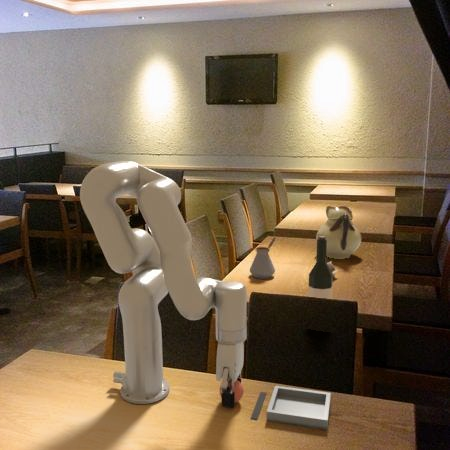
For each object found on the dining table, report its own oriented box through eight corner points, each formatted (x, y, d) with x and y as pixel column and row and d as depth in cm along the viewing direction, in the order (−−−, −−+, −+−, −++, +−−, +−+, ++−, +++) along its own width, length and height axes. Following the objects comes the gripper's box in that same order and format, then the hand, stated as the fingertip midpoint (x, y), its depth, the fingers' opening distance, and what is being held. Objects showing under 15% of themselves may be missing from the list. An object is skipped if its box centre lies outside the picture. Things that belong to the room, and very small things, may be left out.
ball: (216, 406, 123) (216, 384, 122) (223, 393, 129) (223, 372, 128) (240, 409, 122) (240, 387, 120) (245, 396, 127) (245, 375, 126)
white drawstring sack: (334, 248, 273) (335, 203, 268) (371, 257, 255) (373, 209, 250) (307, 256, 259) (308, 208, 254) (344, 266, 241) (346, 215, 236)
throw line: (250, 418, 118) (250, 418, 118) (260, 392, 129) (260, 391, 129) (257, 419, 118) (257, 418, 118) (266, 393, 129) (266, 392, 129)
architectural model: (337, 278, 223) (338, 262, 222) (331, 282, 218) (331, 265, 217) (330, 276, 226) (331, 261, 224) (323, 280, 220) (324, 264, 219)
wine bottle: (328, 314, 181) (331, 233, 175) (334, 323, 173) (337, 239, 166) (305, 314, 181) (307, 234, 174) (310, 324, 172) (312, 239, 166)
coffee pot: (269, 281, 218) (269, 248, 215) (245, 277, 224) (245, 245, 220) (286, 268, 237) (287, 238, 234) (264, 265, 242) (264, 235, 239)
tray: (266, 421, 117) (266, 411, 116) (275, 394, 128) (275, 385, 128) (327, 430, 113) (327, 420, 113) (330, 401, 125) (330, 392, 124)
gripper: (225, 317, 131) (226, 380, 134) (205, 345, 114) (207, 416, 118) (253, 320, 129) (253, 383, 132) (237, 349, 112) (238, 421, 116)
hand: (231, 398), depth 125 cm, fingers open, 6 cm apart
